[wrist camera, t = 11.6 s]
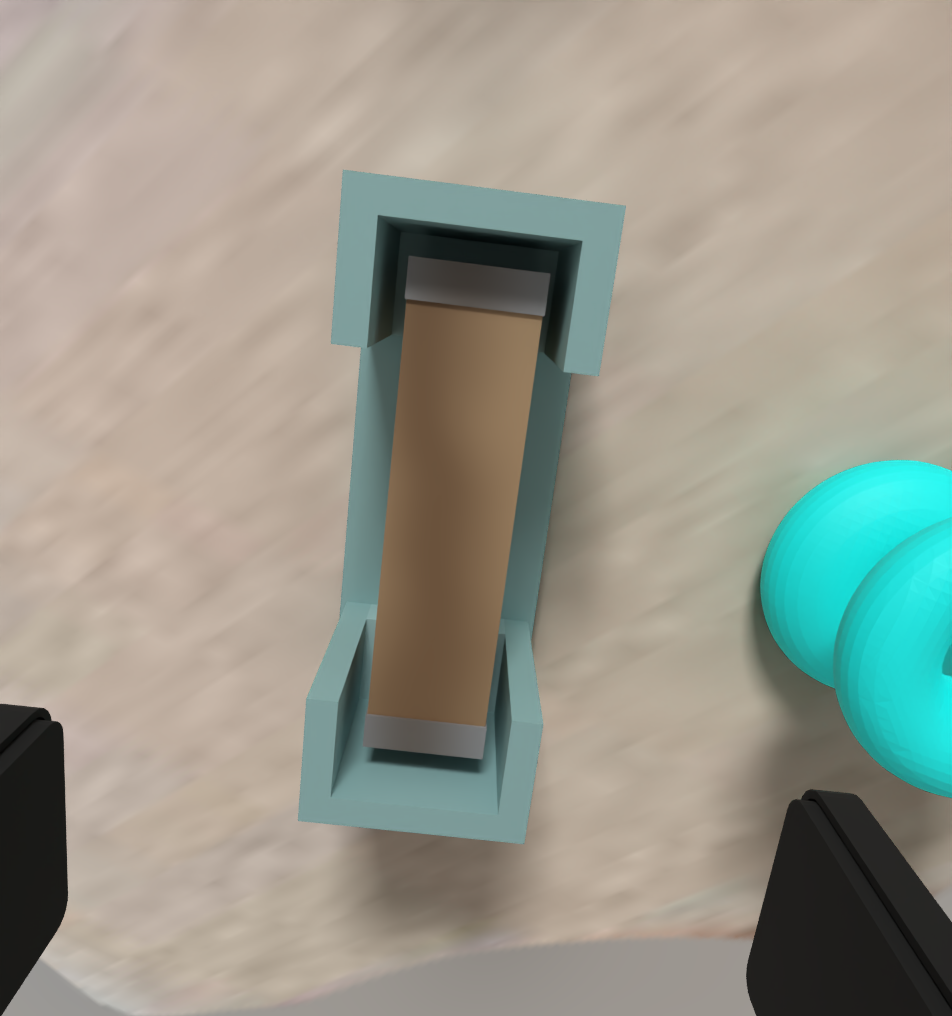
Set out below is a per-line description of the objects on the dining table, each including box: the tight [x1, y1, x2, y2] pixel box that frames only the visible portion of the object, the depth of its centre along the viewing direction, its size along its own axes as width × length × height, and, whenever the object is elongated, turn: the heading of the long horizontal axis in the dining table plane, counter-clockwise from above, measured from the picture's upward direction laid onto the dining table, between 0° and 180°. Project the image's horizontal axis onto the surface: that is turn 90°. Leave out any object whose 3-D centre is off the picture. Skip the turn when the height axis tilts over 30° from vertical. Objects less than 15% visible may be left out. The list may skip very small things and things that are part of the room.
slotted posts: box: [298, 170, 626, 844], centre depth 28 cm, size 8×20×10 cm, turn 173°
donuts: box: [760, 460, 952, 798], centre depth 29 cm, size 10×10×10 cm
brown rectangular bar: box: [363, 256, 551, 759], centre depth 27 cm, size 4×16×5 cm, turn 173°
